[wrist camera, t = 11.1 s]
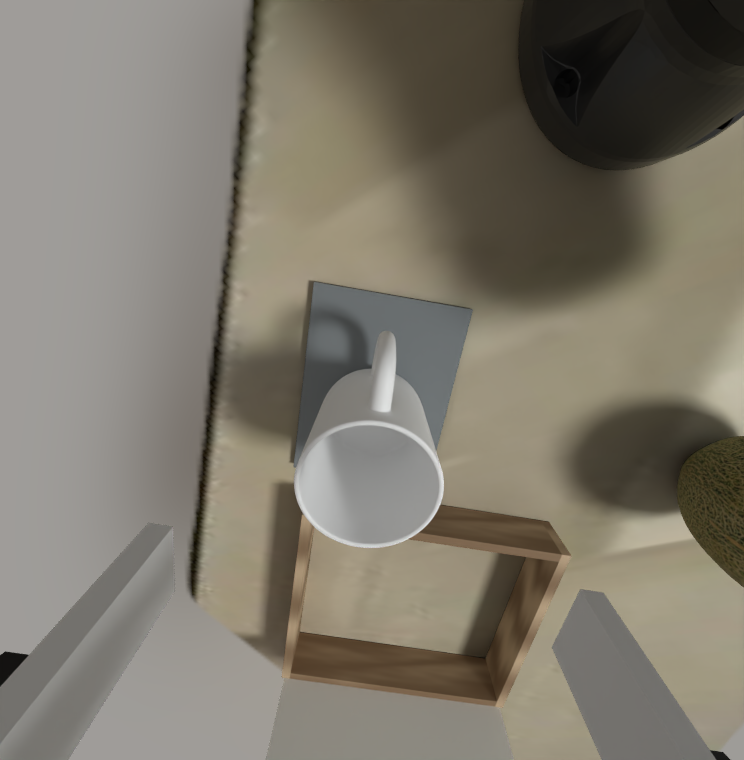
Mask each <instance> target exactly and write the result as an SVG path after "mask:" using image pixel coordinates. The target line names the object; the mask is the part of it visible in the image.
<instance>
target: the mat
mask: <svg viewBox="0 0 744 760" xmlns="http://www.w3.org/2000/svg"><path fill="white" fill-rule="evenodd" d="M472 311H473V310H472V309H469V308H463V307H457V306H452V305H446V304H440V303H435V302H429V301H423V300H418V299H412V298H406V297H400V296H395V295H389V294H383V293H378V292H372V291H366V290H361V289H355V288H349V287H343V286H338V285H332V284H326V283H321V282H314V286H313V295H312V304H311V313H310V322H309V331H308V340H307V349H306V359H305V368H304V377H303V386H302V395H301V404H300V413H299V422H298V431H297V440H296V450H295V459H294V467H296V466H297V463H298V461H299V458H300V456H301V454H302V451H303V449H304V446H305V444H306V442H307V439H308V437H309V434H310V432H311V430H312V427H313V425H314V422H315V420H316V417H317V415H318V413H319V410H320V408H321V405H322V403H323V401H324V399H325V397H326V395H327V393H328V392H329V390H330V389H331V388H332V386H333V385H334V384H335V383H336V382H337V381H338V380H340V379H341V378H342V377H344V376H346V375H347V374H349V373H352V372H354V371H358V370H362V369H371V368H372V363H373V358H374V353H375V348H376V343H377V339H378V337H379V335H380V333H381V332H383V331H390V332H391V333H393V335H394V337H395V341H396V373H395V374H396V375H398V376H400V377H402V378H403V379H404V380H406V381H407V382H408V383H409V384H410V385H411V386H412V388H413V389H414V390H415V392H416V393H417V395H418V397H419V399H420V401H421V404H422V406H423V410H424V413H425V416H426V420H427V423H428V426H429V429H430V433H431V436H432V439H433V443H434V446H435V449H436V450H437V446H438V442H439V438H440V434H441V430H442V427H443V423H444V419H445V415H446V411H447V407H448V403H449V400H450V396H451V392H452V388H453V384H454V380H455V377H456V373H457V369H458V365H459V361H460V357H461V353H462V350H463V346H464V342H465V338H466V334H467V330H468V326H469V323H470V319H471V315H472Z"/></svg>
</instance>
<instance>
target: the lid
mask: <svg viewBox="0 0 744 760" xmlns="http://www.w3.org/2000/svg"><path fill="white" fill-rule="evenodd" d="M266 760H514V758H513V754H512V751H511V747H510V743H509V740H508V736H507V732H506V729H505V725H504V721H503V718H502V714H501V710H500V707H493V706H486V705H479V704H472V703H464V702H457V701H450V700H442V699H435V698H428V697H420V696H413V695H406V694H398V693H391V692H384V691H377V690H369V689H362V688H355V687H347V686H340V685H333V684H325V683H318V682H311V681H303V680H296V679H289V678H285V679H284V683H283V688H282V691H281V696H280V700H279V704H278V709H277V713H276V718H275V722H274V726H273V730H272V735H271V740H270V743H269V748H268V752H267V756H266Z"/></svg>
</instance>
